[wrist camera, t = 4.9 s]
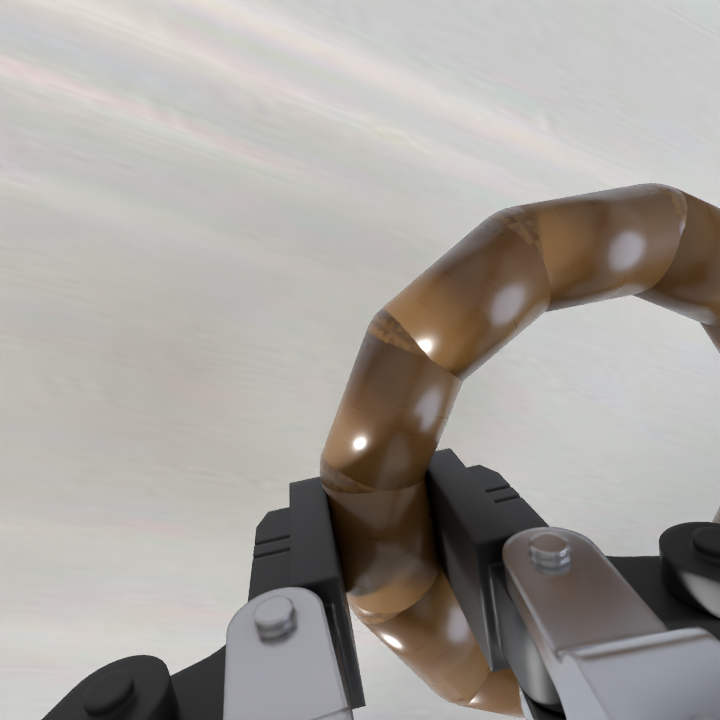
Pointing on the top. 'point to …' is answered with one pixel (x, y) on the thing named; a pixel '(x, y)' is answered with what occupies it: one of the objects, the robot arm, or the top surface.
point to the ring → (458, 361)
